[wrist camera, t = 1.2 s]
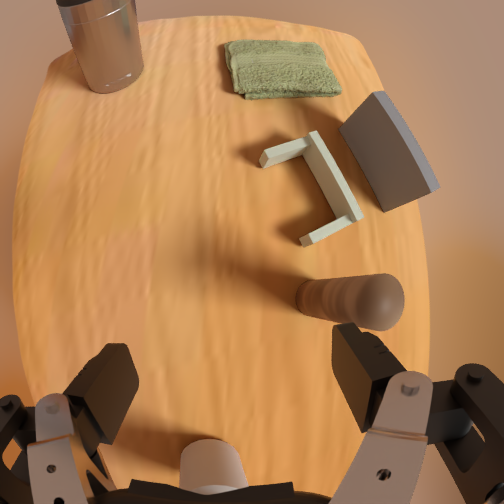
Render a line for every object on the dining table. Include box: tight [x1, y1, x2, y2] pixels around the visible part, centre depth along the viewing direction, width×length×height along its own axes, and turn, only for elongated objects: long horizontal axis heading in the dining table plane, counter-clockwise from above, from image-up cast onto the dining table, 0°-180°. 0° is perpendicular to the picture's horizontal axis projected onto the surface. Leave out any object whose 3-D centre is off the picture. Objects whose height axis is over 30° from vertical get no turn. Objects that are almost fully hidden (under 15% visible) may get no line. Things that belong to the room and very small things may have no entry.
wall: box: [338, 91, 440, 213], centre depth 32 cm, size 14×2×10 cm, turn 26°
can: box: [179, 439, 248, 495], centre depth 22 cm, size 8×8×12 cm
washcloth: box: [224, 40, 342, 100], centre depth 35 cm, size 13×18×3 cm
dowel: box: [296, 274, 404, 331], centre depth 26 cm, size 4×4×14 cm
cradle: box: [259, 130, 364, 247], centre depth 32 cm, size 12×7×4 cm, turn 26°
